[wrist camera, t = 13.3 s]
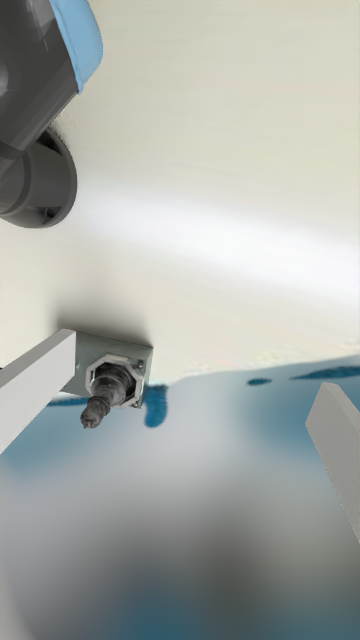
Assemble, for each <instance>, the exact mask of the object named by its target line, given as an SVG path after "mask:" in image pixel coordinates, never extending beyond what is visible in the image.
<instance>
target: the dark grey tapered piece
mask: <svg viewBox="0 0 360 640" xmlns="http://www.w3.org/2000/svg"><path fill="white" fill-rule="evenodd" d="M129 386H130V377H129V375H128V373H127V372H126V371H125V370H123V369H122V368H120V367H116V366H111V367H108V368H106V369H105V370H104V371H103V372H102V374H101V376H99V377H97V378H96V379H95V380H94V381H93V382H92V384H91V393H92V395H93V396H92V397H90V398H89V399H88V401H87V407H86V408H85V410H84V411H83V412H82V415H81V417H80V419H81V422H82V424H83V425H84V428H85V429H86V428H95V427H97V426H98V425H99V424H100V422H101V421H102V419H103V417H104V416H105V415H107V414H108V413H109V412H110V406H111V407H113V406H117V405H119V404H121V403H122V402H123V401H124V399H125V396H126V390H127V389H128V388H129Z"/></svg>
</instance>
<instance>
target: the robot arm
mask: <svg viewBox="0 0 360 640" xmlns="http://www.w3.org/2000/svg"><path fill="white" fill-rule="evenodd" d="M102 56H103V43H102V38H101V33H100V30H99V27H98V24H97V22H96V19H95V17H94V14H93V12H92V10H91V7H90V5H89V3H88V1H87V0H0V218H2V219H4V220H6V221H8V222H10V223H12V224H14V225H17V226H20V227H24V228H47V227H51V226H53V225H55V224H57V223H59V222H60V221H62V220H63V219H64V218H65V217H66V216H67V214H68V213H69V212H70V210H71V208H72V206H73V204H74V201H75V197H76V192H77V175H76V169H75V165H74V162H73V160H72V157H71V155H70V153H69V151H68V149H67V148H66V146H65V144H64V143H63V142H62V140H61V139H60V138H59V137H58V136H57V135H56V134H55V133H54V132H53V131H51V130H50V129H49V128H47V127H48V126H49V125H50V124H51V123H52V122H53V120H54V119H55V118H56V117H57V116H58V115H59V113H60V112H61V111H62V110H63V109H64V108H65V106H66V105H67V104H68V103H69V102H70V101H71V100H72V98H73V97H74V96H75V95H76V94H78V95H79V94H80V93H81V92H82V90H83V85H84V84H85V83H86V82H87V80H88V79H89V78H90V76H91V75H92V74H93V73H94V71H95V70H96V69H97V67H98V66H99V64H100V62H101V60H102ZM75 346H76V331H74V330H69V329H64V328H62V329H60V330H59V331H57V332H56V333H55V334H53V335H52V336H50V337H49V338H47V339H46V340H44V341H43V342H41V343H40V344H38V345H37V346H35V347H34V348H32V349H31V350H29V351H28V352H26V353H25V354H23V355H22V356H20V357H19V358H17V359H16V360H14V361H13V362H11V363H10V364H8V365H7V366H6V367H4V368H0V454H1V452H3V451H4V450H5V448H6V447H7V446H8V445H9V444H10V443H11V442H12V441H13V440H14V439H15V438H16V437H17V436H18V435H19V433H20V432H21V431H22V430H23V429H24V428H25V427H26V426H27V425H28V424H29V423H30V422H31V421H32V419H34V418H35V416H36V415H37V414H38V413H39V412H40V411H41V410H42V409H43V408H44V407H45V406H46V405H47V404H48V403H49V402H50V400H51V399H52V398H53V397H54V396H55V395H56V394H57V393H58V392H59V391H60V390H61V389H62V388H63V387H64V386H65V384H66V383H67V382H68V381H69V380H70V379H71V378H72V377H73V376H74V375H75ZM305 425H306V428H307V430H308V432H309V434H310V436H311V438H312V441H313V443H314V445H315V447H316V450H317V452H318V454H319V456H320V458H321V460H322V463H323V465H324V467H325V469H326V471H327V473H328V476H329V478H330V480H331V482H332V484H333V487H334V489H335V491H336V493H337V495H338V497H339V500H340V502H341V504H342V506H343V508H344V511H345V513H346V515H347V517H348V519H349V522H350V524H351V526H352V528H353V530H354V532H355V534H356V537H357V539H358V541H359V543H360V413H359V411H358V410H357V409H356V408H355V406H354V405H353V404H352V402H351V401H350V400H349V399H348V397H347V396H346V395H345V393H344V392H343V391H342V390H341V388H340V387H339V386H338V385H337V384H332V383H327V382H322V384H321V386H320V389H319V391H318V394H317V396H316V398H315V401H314V403H313V406H312V408H311V411H310V413H309V415H308V418H307V421H306V423H305Z"/></svg>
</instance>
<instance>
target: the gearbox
mask: <svg viewBox="0 0 360 640" xmlns="http://www.w3.org/2000/svg"><path fill="white" fill-rule="evenodd" d="M152 354H153V347H148V346H143V345H138V344H133V343H128V342H123V341H119V340H114V339H109V338H104V337H99V336H94V335H89V334H84V333H80V332H76V346H75V375H74V376H73V377H72V378H71V379H70V380H69V381H68V382H67V383H66V384H65V386H64V387H63V388H62V389H61V390H60V391H62V392H67V393H71V394H76V395H80V396H85V397H92V396H93V395H92V393H91V384H92V382H93V381H94V380H95V379H96V378H97V377H99V376H101V374H102V372H103V371H104V370H105V369H106V368H108V367H111V366H116V367H120V368H122V369H123V370H125V371H126V372H127V373H128V375H129V377H130V386H129V388H128V389H127V390H126V396H125V399H124V401H123V402H122V403H121V404H119V405H117V406H113V407H112V408H117V409H121V408H122V409H124V408H125V407H127V406H131V407H134V408H141V406H142V404H143V401H144V399H145V396H146V394H147V389H148V382H149V375H150V368H151V361H152ZM110 407H111V406H110Z"/></svg>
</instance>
